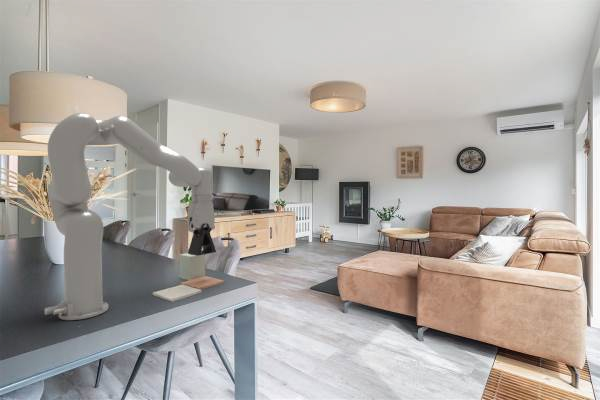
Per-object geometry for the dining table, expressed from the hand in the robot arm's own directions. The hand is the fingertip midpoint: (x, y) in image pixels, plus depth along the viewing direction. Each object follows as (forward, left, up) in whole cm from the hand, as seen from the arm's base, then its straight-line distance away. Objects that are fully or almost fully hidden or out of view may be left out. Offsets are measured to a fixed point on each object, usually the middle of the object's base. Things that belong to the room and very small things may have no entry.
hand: (202, 245), depth 126 cm
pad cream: (-13, -3, -15) cm, 20 cm away
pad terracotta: (0, 0, -15) cm, 15 cm away
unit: (+3, +11, -15) cm, 19 cm away
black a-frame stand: (0, 0, -3) cm, 3 cm away
